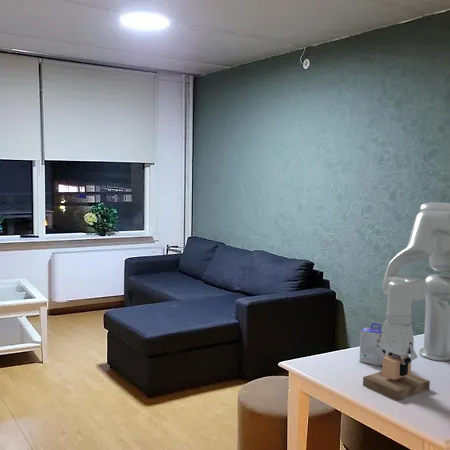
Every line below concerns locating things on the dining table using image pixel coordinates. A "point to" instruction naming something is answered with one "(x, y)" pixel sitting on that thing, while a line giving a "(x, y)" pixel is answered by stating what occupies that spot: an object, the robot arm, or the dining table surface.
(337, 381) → the dining table surface
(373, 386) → the wooden square tile
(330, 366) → the dining table surface
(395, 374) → the block
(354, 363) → the dining table surface
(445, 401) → the dining table surface
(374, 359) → the ink cartridge box
